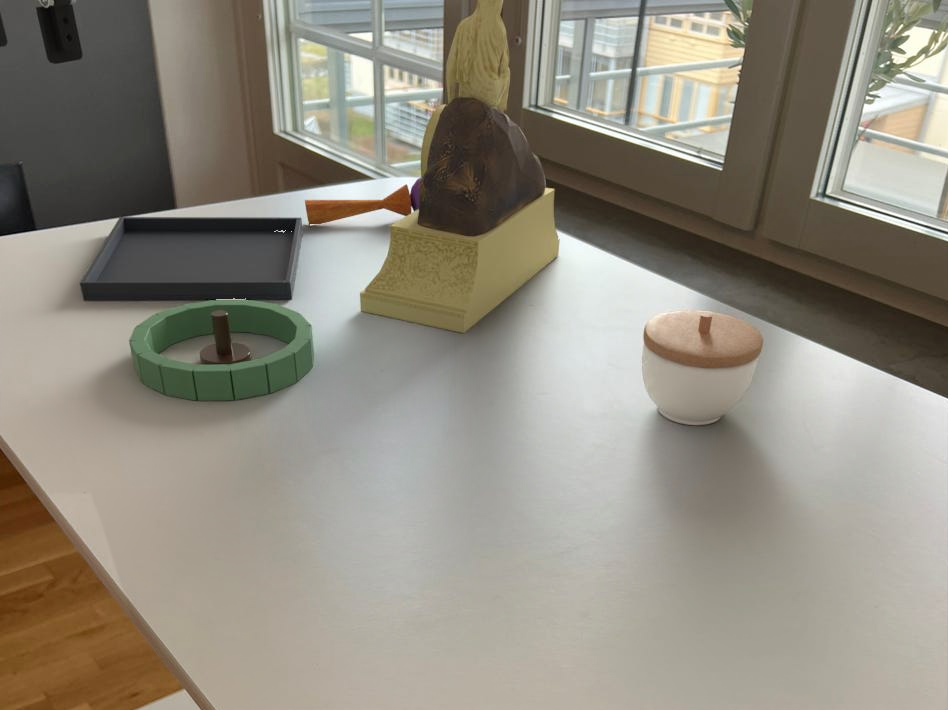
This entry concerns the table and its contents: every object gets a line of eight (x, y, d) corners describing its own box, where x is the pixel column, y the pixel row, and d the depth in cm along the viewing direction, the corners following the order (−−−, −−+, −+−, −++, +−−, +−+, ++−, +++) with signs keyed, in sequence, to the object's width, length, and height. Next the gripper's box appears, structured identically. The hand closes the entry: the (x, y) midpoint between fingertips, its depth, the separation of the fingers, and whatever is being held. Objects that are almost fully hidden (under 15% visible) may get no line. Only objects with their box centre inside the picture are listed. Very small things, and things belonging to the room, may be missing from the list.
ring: (121, 402, 93) (114, 372, 91) (152, 327, 106) (147, 299, 104) (309, 399, 94) (306, 370, 92) (316, 326, 108) (314, 299, 106)
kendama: (302, 187, 133) (447, 169, 136) (309, 234, 136) (451, 216, 139) (304, 191, 128) (455, 173, 131) (312, 240, 131) (459, 221, 134)
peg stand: (197, 372, 98) (189, 323, 95) (204, 351, 102) (196, 303, 99) (248, 371, 99) (242, 323, 95) (253, 350, 102) (247, 303, 99)
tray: (83, 300, 111) (79, 282, 110) (122, 232, 129) (119, 216, 128) (292, 299, 113) (290, 282, 112) (302, 233, 131) (301, 217, 130)
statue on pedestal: (467, 238, 131) (473, -34, 112) (558, 255, 127) (580, -25, 108) (360, 310, 111) (345, -6, 92) (463, 333, 107) (470, 8, 88)
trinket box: (674, 446, 89) (691, 347, 83) (612, 396, 97) (624, 301, 91) (769, 425, 93) (792, 328, 87) (703, 378, 100) (720, 286, 94)
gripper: (-151, -210, 75) (-74, 49, 86) (-3, -207, 68) (60, 74, 79) (-63, -208, 80) (-1, 37, 91) (83, -205, 73) (131, 59, 84)
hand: (27, 54), depth 85 cm, fingers open, 9 cm apart
